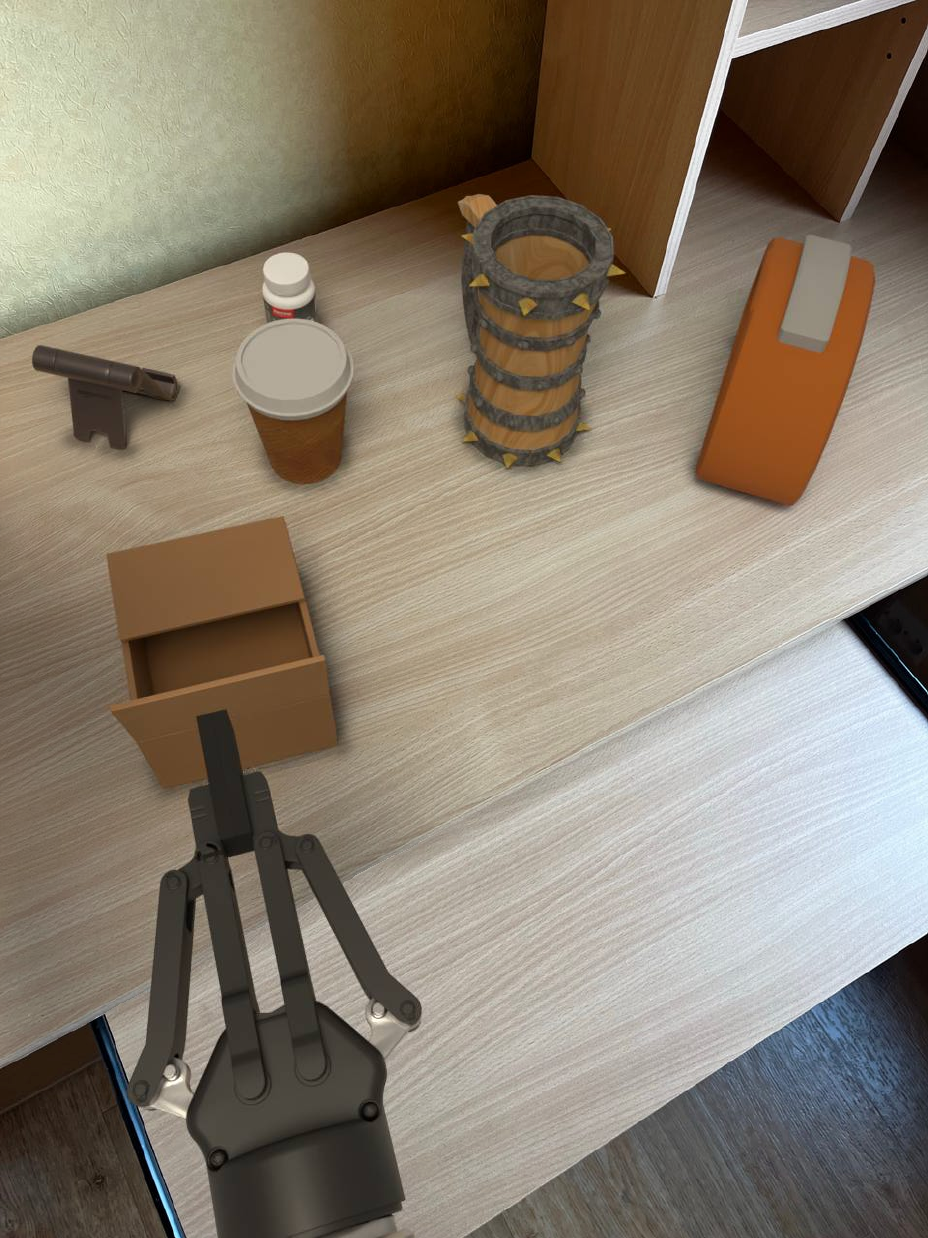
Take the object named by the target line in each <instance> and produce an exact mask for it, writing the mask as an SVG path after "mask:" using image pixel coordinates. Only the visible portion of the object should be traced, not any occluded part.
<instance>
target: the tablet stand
mask: <svg viewBox="0 0 928 1238" xmlns="http://www.w3.org/2000/svg"><path fill="white" fill-rule="evenodd" d="M31 365H32V368H33V369H34V370H35V371H36V372H40V373H45V374H49V375H53V376H57V377H62V378H66V379H67V383H68V391H69V392H68V393H69V401H70V411H71V421H72V431H73V437H74V438H75V439H76V440H78V441H81V442H85V443H90V442H91V440H90V439H91V431H94V432H98V433H103V434H105V435H106V436H107V439H108V444H109V447H110V448H111V449H115V450H119V451H121V450H125V448H126V446H127V444H126V429H125V418H124V417H125V416H124V414H125V413H124V401H123V391H124V392H129V393H133V394H139V395H144V396H148V397H153V398H155V399H158V400H161V401H169V402H173V401H175V400H176V399H177V398H176V397H177V396H178V393H179V382H178V380H177V377H176V374H173V373H169V372H164V371H159V370H155V369H150V368H146V367H142V368H141V367H140V366H138V365H133V364H128V363H124V362H118V361H115V360H110V359H106V358H102V357H97V356H92V355H87V354H83V353H79V352H74V351H69V350H65V349H61V348H57V347H51V346H48V345H43V344H39V345H36V346H35V348H34V350H33V352H32V356H31Z"/></svg>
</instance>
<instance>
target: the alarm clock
mask: <svg viewBox="0 0 928 1238" xmlns="http://www.w3.org/2000/svg"><path fill="white" fill-rule="evenodd" d="M874 268H875V267H874V264H873V263H872V262H870V260H867V259H864V258H860V257H858V256H857V257H856V256H852V246H851V245H850V244H849V243H845V242H841V241H837V240H833V239H829V238H826V237H822V236H818V235H814V234H808V235H806V236H805V238H804V241H803V242H799V241H796V240H791V239H787V238H784V237H781V236H780V237H773V238H772V239H771V240H770V241H769V242H768V243H767V246H766V248H765V250H764V253H763V255H762V258H761V261H760V263H759V266H758V269H757V271H756V275H755V277H754V280H753V282H752V286H751V289H750V290H749V294H748V297H747V300H746V303H745V305H744V309H743V312H742V315H741V318H740V322H739V324H738V328H737V331H736V335H735V338H734V341H733V344H732V347H731V351H730V354H729V358H728V361H727V364H726V367H725V370H724V374H723V377H722V379H721V384H720V386H719V391H718V394H717V397H716V401H715V403H714V407H713V410H712V412H711V416H710V420H709V422H708V427H707V430H706V433H705V436H704V439H703V441H702V446H701V449H700V451H699V452H700V453H699V456H698V459H697V462H696V465H695V472H696V477H697V478H698V479H700V480H702V481H705V482H708V483H711V484H715V485H718V486H722V487H725V488H729V489H732V490H735V491H739V492H742V493H745V494H749V495H753V496H756V497H760V498H763V499H766V500H770V501H773V502H776V503H779V504H782V505H786V506H794V505H795V504H796V503H797V502H798V501H799V500H800V499H801V497H802V496H803V494H804V492H805V490H806V489H807V487H808V485H809V483H810V481H811V479H812V477H813V475H814V473H815V472H816V469H817V468H818V465H819V463H820V460H821V457H822V455H823V453H824V451H825V448H826V446H827V444H828V441H829V438H830V436H831V434H832V431H833V428H834V426H835V423H836V420H837V418H838V416H839V413H840V410H841V408H842V405H843V401H844V399H845V395H846V394H847V390H848V387H849V384H850V381H851V378H852V375H853V373H854V369H855V366H856V362H857V359H858V356H859V352H860V349H861V346H862V344H863V339H864V337H865V336H864V335H865V331H866V329H867V323H868V319H869V314H870V310H871V305H872V300H873V296H874V290H875V285H876V275H875V269H874Z"/></svg>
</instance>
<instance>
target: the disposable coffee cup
mask: <svg viewBox="0 0 928 1238" xmlns="http://www.w3.org/2000/svg"><path fill="white" fill-rule="evenodd" d="M354 369H355V366H354V361H353V357H352V355H351V352H350V351H349V349H348V348H347V346H346V345H345V344H344V343H343V341H342V339H341V338H340V337H339V335H338V334H336V333H335V331H334V330H332V329H331V328H329V327H327V326H325V325H324V324H322V323H320V322H318V323H317V322H314V321H310V320H305V319H282V320H277V321H273V322H270V323H267V322H266V323H265V324H263V325H261V326H259V327H257V328H255V329H254V330H252V332H251V333H249V334H248V335H247V336H246V337H244V339H243V340H242V341H241V344H240V345H239V346H238V350H237V352H236V356H235V359H234V361H233V364H232V369H231V377H232V382H233V386H234V388H235V390H236V392H237V393H238V395H239V396H240V398H241V399H242V400H243V401H244V403H246V405H247V406H246V407H247V408H248V410H249V414H250V416H251V419H252V420H253V423H254V425H255V428H256V431H257V433H258V436H259V438H260V440H261V443H262V446H263V447H264V450H265V453H266V455H267V458H268V460H269V463H270V465H271V469H272V470H273V471H274V472H275V474H277V476H279V477H280V478H282V479H284V480H285V481H287V482H290V483H294V484H301V485H308V484H314V483H318V482H321V481H323V480H325V479H327V478H329V477H330V476H332V475H333V474H334V472H336V470H337V469H338V468H339V466H340V464H341V461H342V455H343V442H344V432H345V423H346V422H345V421H346V411H347V402H348V401H347V400H348V391H349V389H350V387H351V384H352V382H353V379H354Z"/></svg>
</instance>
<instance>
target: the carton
mask: <svg viewBox="0 0 928 1238" xmlns="http://www.w3.org/2000/svg"><path fill="white" fill-rule="evenodd" d="M106 561H107V567H108V575H109V580H110V586H111V587H110V588H111V593H112V599H113V607H114V613H115V619H116V625H117V633H118V638H119V642H120V643H121V651H122V656H123V662H124V669H125V676H126V682H127V689H128V695H129V701H131V700H135V699H139V698H144V697H148V696H152V695H156V694H160V693H165V692H169V691H173V690H177V689H181V688H186V687H190V686H194V685H198V684H202V683H206V682H211V681H215V680H219V679H223V678H227V677H232V676H236V675H240V674H244V673H248V672H253V671H257V670H261V669H265V668H269V667H273V666H278V665H282V664H286V663H290V662H294V661H299V660H303V659H307V658H311V657H315V656H320V655H321V654H320V650H319V647H318V643H317V640H316V635H315V632H314V627H313V624H312V619H311V616H310V612H309V608H308V604H307V600H306V597H305V593H304V589H303V585H302V581H301V578H300V573H299V570H298V565H297V562H296V558H295V553H294V550H293V546H292V542H291V538H290V535H289V531H288V527H287V523H286V520H285V516H284V515H281V516H276V517H271V518H266V519H262V520H258V521H253V522H248V523H244V524H238V525H234V526H230V527H225V528H220V529H215V530H209V531H206V532H202V533H197V534H192V535H187V536H183V537H177V538H172V539H168V540H165V541H159V542H154V543H150V544H144V545H141V546H137V547H131V548H127V549H121V550H117V551H112V552H108V553H106ZM230 721H231V724H232V726H233V729H234V732H235V737H236V742H237V747H238V752H239V756H240V761H241V766H242V770H244V769H248V768H249V769H250V768H254V767H257V766H260V765H264V764H269V763H273V762H277V761H280V760H284V759H288V758H292V757H296V756H300V755H303V754H308V753H312V752H315V751H320V750H325V749H328V748H332V747H336V746H339V741H338V734H337V728H336V722H335V717H334V711H333V705H332V698H331V693H330V692H329V694H328V695H324V696H320V697H316V698H312V699H308V700H304V701H300V702H296V703H291V704H287V705H283V706H279V707H275V708H271V709H267V710H263V711H259V712H255V713H251V714H247V715H243V716H239V717H234V718H230ZM136 744H137V746H138V747H139V749H140V751H141V753H142V754H143V756H144V758H145V759H146V762H147V763H148V764H149V766H150V768H151V770H152V771H153V773H154V775H155V777H156V778H157V781H158V782H159V784H160V785H161V787H162V789H163V790H166V789H171V788H174V787H178V786H182V785H185V784H189V783H194V782H198V781H202V780H206V779H208V777H207V771H206V766H205V761H204V755H203V750H202V745H201V740H200V734H199V729H198V727H194V728H190V729H186V730H182V731H177V732H173V733H169V734H165V735H161V736H157V737H153V738H149V739H145V740H141V741H137V742H136Z"/></svg>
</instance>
